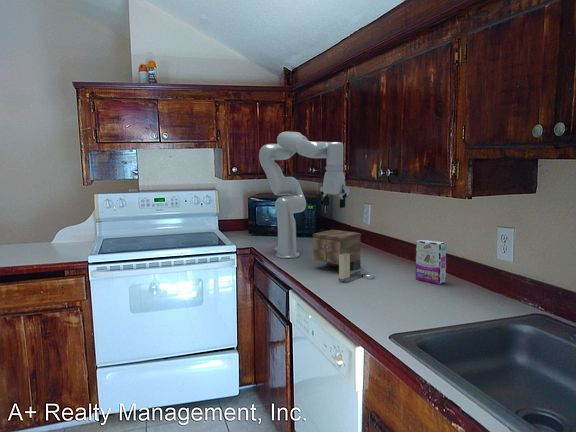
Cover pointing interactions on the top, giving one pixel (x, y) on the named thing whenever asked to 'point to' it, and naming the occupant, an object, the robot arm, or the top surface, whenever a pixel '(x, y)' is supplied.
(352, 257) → the cabinet
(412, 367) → the top surface
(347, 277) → the wood and grey l-block
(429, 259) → the candy bar box
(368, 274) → the steel token
